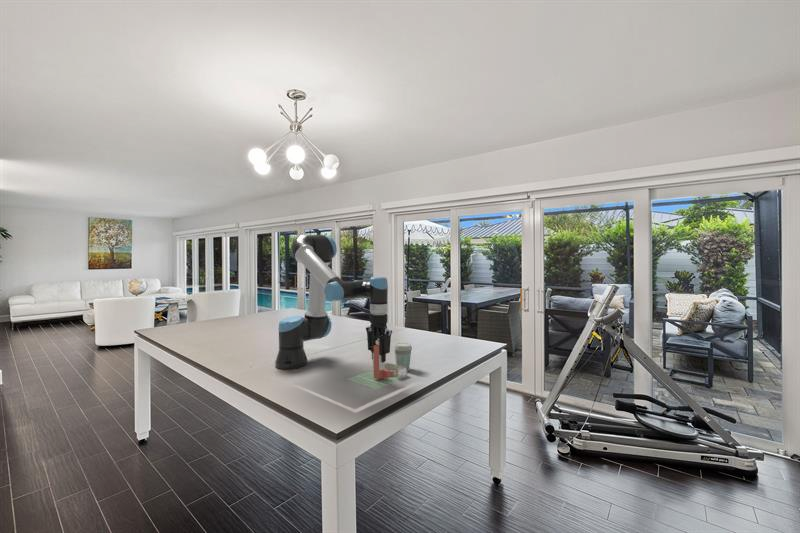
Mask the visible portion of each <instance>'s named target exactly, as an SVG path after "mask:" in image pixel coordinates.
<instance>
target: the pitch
mask: <svg viewBox="0 0 800 533" xmlns="http://www.w3.org/2000/svg"><path fill="white" fill-rule="evenodd" d="M346 380H348V381H350V382H353V383H356V384H359V385H361V386H365V387H367V388H370V389H373V390H375V391H377V390H380V389H382V388H385V387H387V386H389V385H392V384H394V383H396V382H399V381H400V379H396V378H394V377H390V378H381V379H376V378H374V371H372V370H371V371H369V370H368V371H366V372H363V373H361V374H357V375H355V376H352V377H349V378H347V379H346Z"/></svg>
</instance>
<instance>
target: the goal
mask: <svg viewBox="0 0 800 533" xmlns="http://www.w3.org/2000/svg"><path fill="white" fill-rule="evenodd" d="M385 369H387V370H394V371H395V379H398V380H401V379H404V378H405V377H408V371H407V367H404V366H400V365H396V363H392V362H388V361H385Z"/></svg>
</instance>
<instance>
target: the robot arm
mask: <svg viewBox="0 0 800 533" xmlns="http://www.w3.org/2000/svg"><path fill="white" fill-rule="evenodd" d="M336 243H337V242H336V241H335V239H334V238H333V237H332V236H329V235H323V234H306V233H305V234H299V235H298V236H297V237H295V238H294V239H293V241H292V242H291V245H290V253H291V256H292V257H293V259H294V260H295V261H296V262H298V263H300V264H303V266H304V267H305V268H306V270H307V271H309V273H310V274H309V286H308V289H309V290H308V303H307V307H308V308H307V310H306V311H305V313H304V317H303V316H302V315H292V316H288V317H284V318H282V319H281V320H280V321H278V329H277V330H278V352H277V355H276V359H275V362H274V365H275V368H277V369H279V370H280V369H281V370H294V369H299V368H302V367H305V366H306V365H307V364H308V357H307V354H306V352H305V348H304V342H308V341H312V340H318V339H323V338H325V337H327V336H328V335H329V334H330V333H331V330H332V326H333V324H332V319H331V317H330V316H329V315H328V312H327V311H326V301H327V300H328V301H329V302H330V301H331V302H339V301H345V300H346V301H347V300H353V299H369V312H370V314H369V323H370V326H365V331H366V340H367V350H368V351H370V352H371V359H372V369H374V345H376V343H375V342H376V340H377V339H379V344H380V355H379V370H383V369H385V362H387V359H386V358H387V357H386V356H387V354H390V351H391V341H392V340H391V338H392V334H393V330H389V329H388V326H387V323H388V314H387V313H388V312H389V311H388V307H389V304H388V302H389V301H388V300H389V299H388V291H389V290H388V289H389V286H388V285H389V284H388V279H387V277H385V276H371V277H369V278H370V279H369V280H362V279H356V280H353V281H343V280H342V279H341V278H340V276H338V275H337V274H336V273H335V272H334V270H332V268H330V267H329V265H331V263H332V259H333V258H335V257H336V255H337V253H338V252H337V251H338V248H337V244H336ZM326 299H327V300H326Z"/></svg>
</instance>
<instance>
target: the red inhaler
mask: <svg viewBox="0 0 800 533" xmlns="http://www.w3.org/2000/svg"><path fill="white" fill-rule="evenodd" d="M375 343H376V345H374V368H373V372H374V378H376V379H381V378H390V370H387V369H383V370H379V355H380V344H379V338H378V339H377V340H376V342H375Z"/></svg>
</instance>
